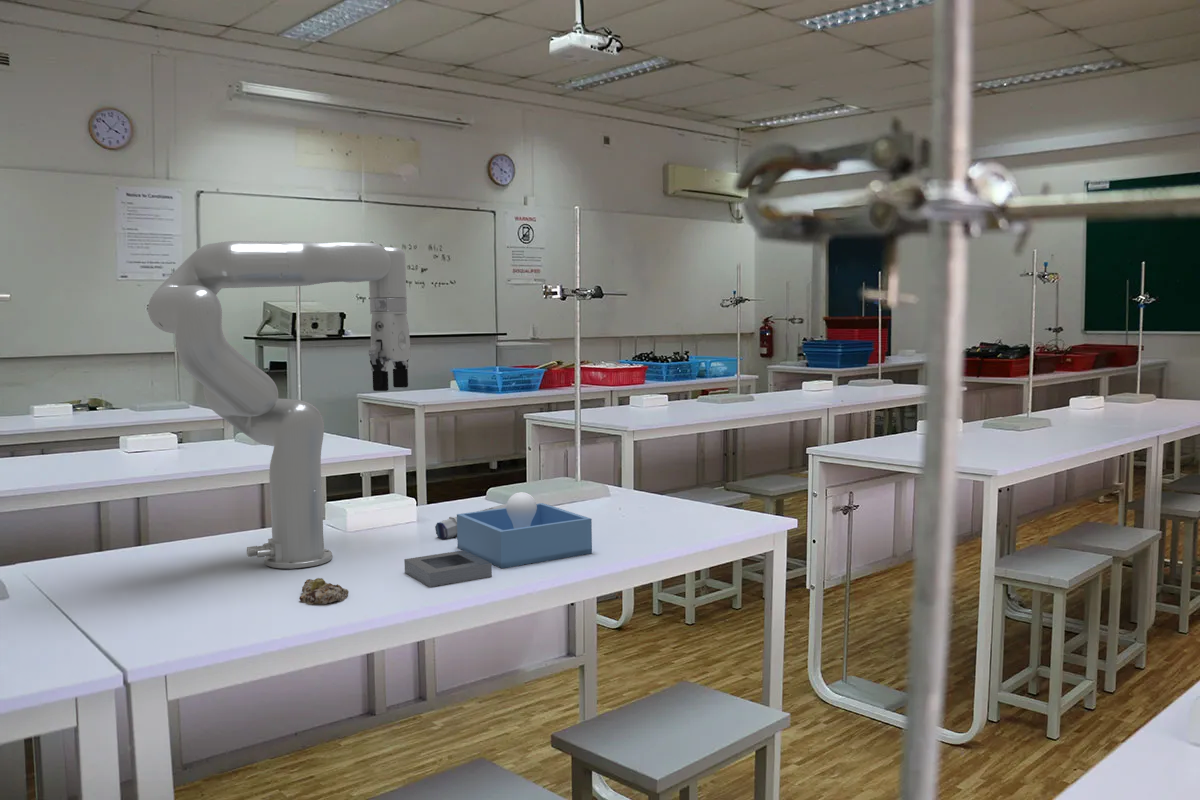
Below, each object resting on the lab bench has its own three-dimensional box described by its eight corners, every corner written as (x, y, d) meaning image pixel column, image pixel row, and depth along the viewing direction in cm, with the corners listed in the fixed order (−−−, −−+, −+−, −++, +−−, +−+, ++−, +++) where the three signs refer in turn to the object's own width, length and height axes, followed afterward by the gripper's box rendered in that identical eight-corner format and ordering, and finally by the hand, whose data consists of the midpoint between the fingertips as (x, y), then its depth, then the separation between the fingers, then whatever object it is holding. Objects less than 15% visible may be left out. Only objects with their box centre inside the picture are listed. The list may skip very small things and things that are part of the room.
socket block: (429, 587, 167) (429, 573, 167) (404, 572, 177) (404, 559, 177) (491, 576, 173) (491, 563, 173) (464, 562, 183) (463, 550, 183)
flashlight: (432, 520, 205) (523, 489, 221) (436, 549, 207) (527, 517, 223) (445, 523, 202) (537, 492, 218) (449, 553, 203) (541, 520, 219)
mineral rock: (360, 586, 160) (315, 582, 156) (355, 612, 160) (309, 608, 155) (334, 576, 169) (291, 571, 164) (329, 600, 168) (285, 596, 163)
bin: (501, 568, 179) (500, 531, 178) (457, 547, 195) (456, 514, 195) (592, 553, 189) (591, 518, 189) (542, 534, 206) (542, 503, 206)
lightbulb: (540, 548, 190) (539, 494, 189) (509, 550, 188) (509, 495, 187) (533, 542, 195) (533, 489, 195) (504, 544, 194) (503, 490, 193)
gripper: (387, 306, 190) (389, 392, 191) (421, 307, 206) (424, 386, 208) (352, 307, 191) (355, 392, 193) (389, 307, 208) (392, 386, 209)
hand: (391, 389), depth 200 cm, fingers open, 9 cm apart
